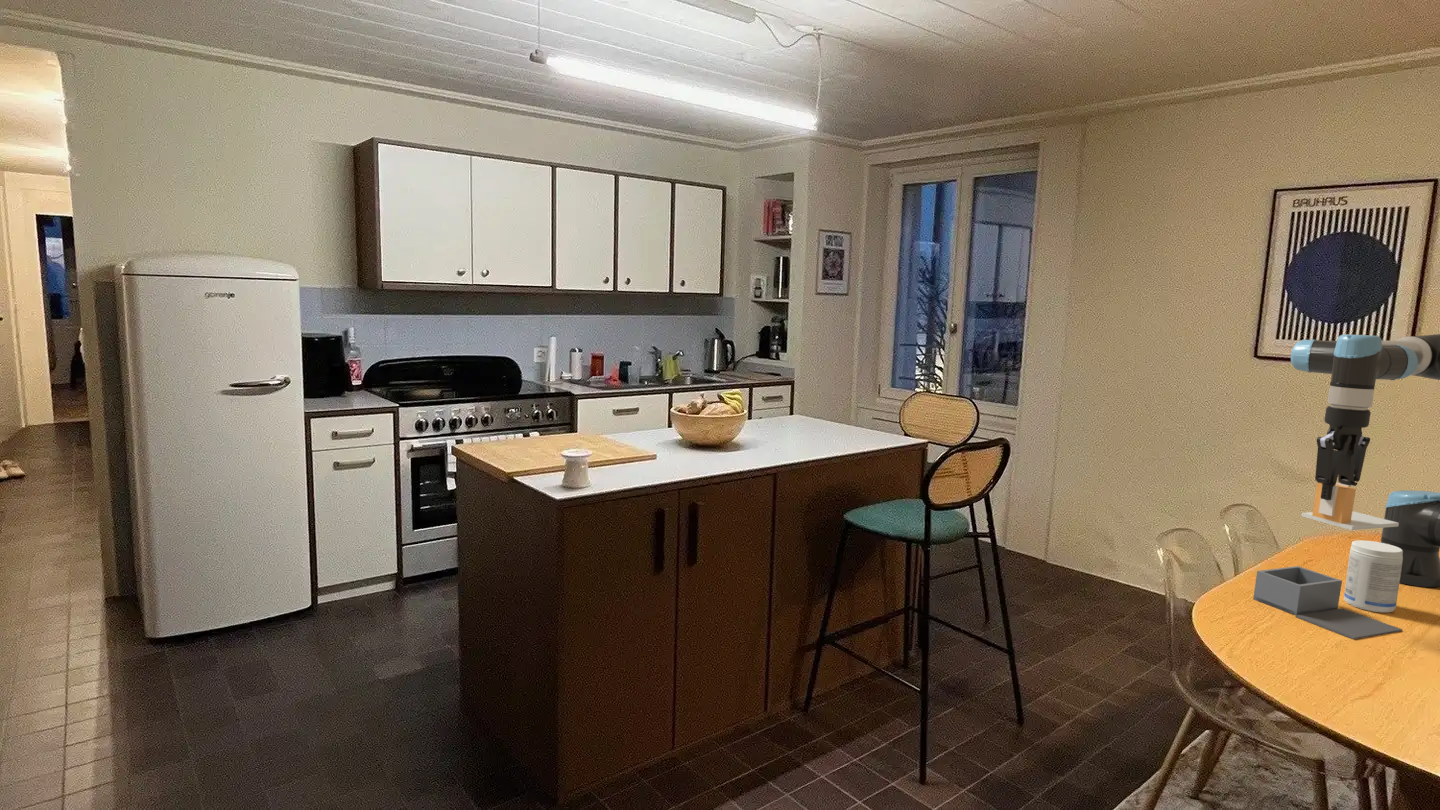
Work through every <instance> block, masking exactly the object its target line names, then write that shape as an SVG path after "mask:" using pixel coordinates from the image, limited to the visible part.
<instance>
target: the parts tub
mask: <svg viewBox="0 0 1440 810" xmlns="http://www.w3.org/2000/svg"><path fill="white" fill-rule="evenodd" d="M1255 576H1256V578H1255V584H1254V590H1253V597H1252V598H1253V600H1255V601H1256V602H1259V603H1262V604H1265V605H1267V606H1270V607H1272V608H1275V609H1277V610H1281V611H1282V612H1285V613H1288V614H1290V615H1293V616H1296V615H1302V614H1308V613H1315V612H1321V611H1328V610H1334V609H1339V602H1340V596H1341V590H1342V584H1343V580H1341V579H1339V578H1336V577H1332V576H1329V575H1328V574H1324V573H1320V572H1317V571H1314V570H1311V569H1308V568H1305V567H1302V566H1299V565H1294V566H1287V567H1280V568H1271V569H1261V570H1257V571H1256V575H1255Z"/></svg>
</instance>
